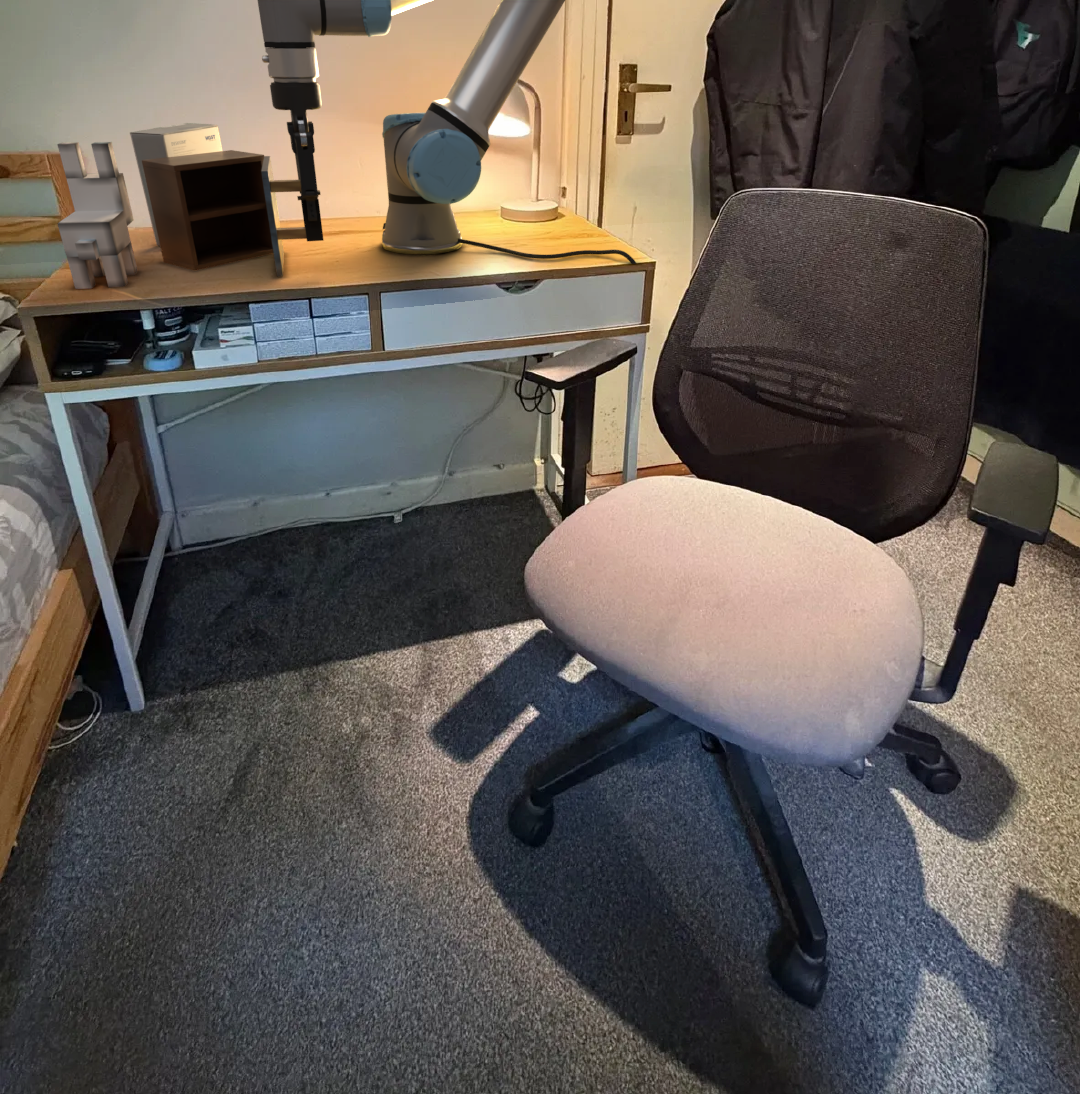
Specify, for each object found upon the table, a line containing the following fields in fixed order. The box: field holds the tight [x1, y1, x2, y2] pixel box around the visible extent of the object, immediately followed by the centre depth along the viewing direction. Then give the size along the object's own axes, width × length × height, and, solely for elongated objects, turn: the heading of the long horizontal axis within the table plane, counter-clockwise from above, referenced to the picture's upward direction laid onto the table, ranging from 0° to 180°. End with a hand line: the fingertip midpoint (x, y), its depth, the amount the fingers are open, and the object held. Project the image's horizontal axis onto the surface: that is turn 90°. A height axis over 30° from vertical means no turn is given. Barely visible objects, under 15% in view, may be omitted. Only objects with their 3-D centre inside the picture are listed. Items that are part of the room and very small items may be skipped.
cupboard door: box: [261, 155, 307, 278], centre depth 146 cm, size 8×18×16 cm, turn 14°
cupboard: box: [142, 149, 274, 272], centre depth 150 cm, size 10×18×17 cm, turn 143°
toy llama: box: [57, 141, 139, 290], centre depth 136 cm, size 8×18×20 cm, turn 11°
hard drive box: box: [129, 122, 224, 247], centre depth 161 cm, size 16×8×20 cm, turn 159°
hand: (314, 238), depth 143 cm, fingers closed on cupboard door, 2 cm apart
